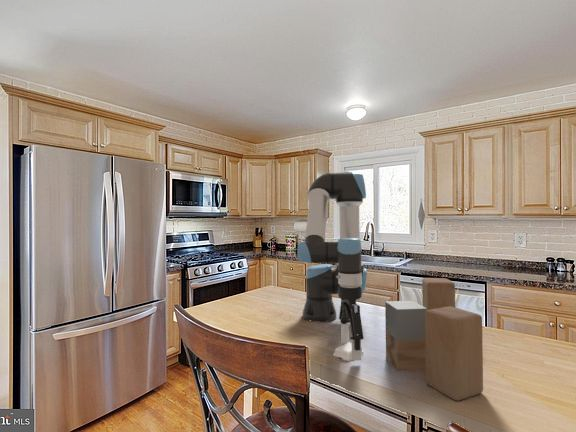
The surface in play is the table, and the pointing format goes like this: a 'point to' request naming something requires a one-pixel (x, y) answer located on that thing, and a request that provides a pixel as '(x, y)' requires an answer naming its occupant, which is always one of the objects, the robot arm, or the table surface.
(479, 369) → the block
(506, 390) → the table surface
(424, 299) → the wooden block
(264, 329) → the table surface
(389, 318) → the grey cube
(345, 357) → the soap
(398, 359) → the walnut base cube
